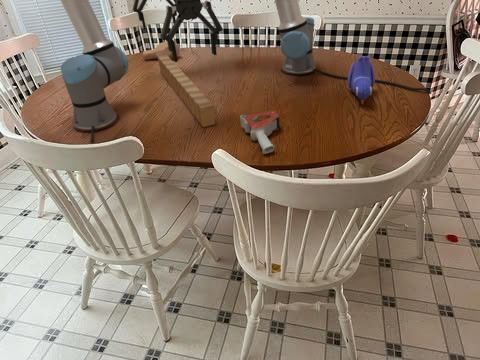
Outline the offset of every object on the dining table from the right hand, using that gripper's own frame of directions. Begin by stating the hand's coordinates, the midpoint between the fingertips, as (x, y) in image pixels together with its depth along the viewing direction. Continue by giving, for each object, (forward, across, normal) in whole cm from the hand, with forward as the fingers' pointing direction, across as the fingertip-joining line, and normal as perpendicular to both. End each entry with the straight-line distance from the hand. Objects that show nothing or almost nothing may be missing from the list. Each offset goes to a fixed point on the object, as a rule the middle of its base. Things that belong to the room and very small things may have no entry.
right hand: (159, 26), depth 158 cm
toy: (+22, -60, +66) cm, 92 cm away
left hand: (0, 0, +52) cm, 52 cm away
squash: (+22, -3, -27) cm, 35 cm away
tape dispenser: (+22, -12, +76) cm, 80 cm away
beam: (+22, 0, +26) cm, 34 cm away
